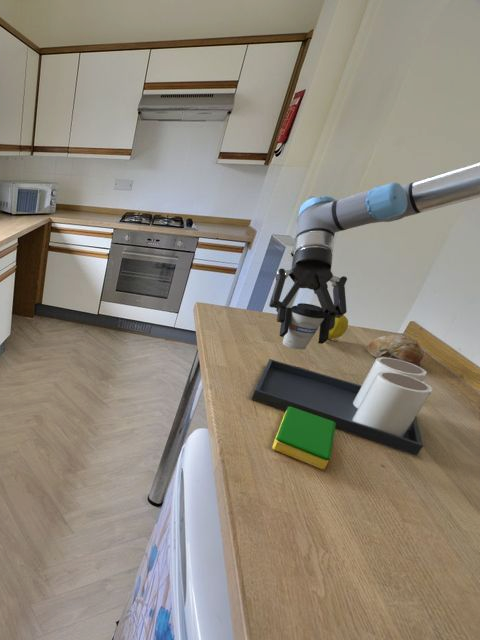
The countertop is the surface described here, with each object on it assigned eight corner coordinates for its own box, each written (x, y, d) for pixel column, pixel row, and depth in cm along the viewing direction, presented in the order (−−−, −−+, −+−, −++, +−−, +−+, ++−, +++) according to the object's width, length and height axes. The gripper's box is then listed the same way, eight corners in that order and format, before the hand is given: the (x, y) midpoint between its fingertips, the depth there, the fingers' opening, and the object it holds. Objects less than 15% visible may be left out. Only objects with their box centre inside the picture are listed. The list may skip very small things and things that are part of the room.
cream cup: (398, 409, 81) (425, 365, 77) (400, 425, 76) (429, 379, 72) (352, 396, 85) (375, 353, 81) (352, 409, 81) (376, 365, 76)
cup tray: (407, 409, 83) (412, 400, 82) (416, 456, 69) (423, 446, 68) (266, 366, 97) (269, 358, 96) (251, 399, 84) (255, 389, 83)
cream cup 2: (401, 427, 76) (430, 381, 71) (404, 445, 71) (435, 396, 67) (352, 412, 80) (376, 367, 76) (352, 427, 75) (378, 380, 71)
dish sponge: (271, 449, 69) (276, 437, 68) (284, 415, 79) (288, 405, 78) (323, 470, 65) (330, 458, 64) (330, 432, 74) (336, 421, 73)
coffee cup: (277, 337, 103) (292, 299, 99) (311, 344, 100) (328, 306, 95) (276, 346, 98) (292, 307, 94) (312, 354, 95) (330, 314, 90)
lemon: (322, 342, 112) (335, 315, 108) (310, 334, 117) (322, 308, 113) (345, 344, 111) (358, 317, 108) (332, 336, 116) (344, 310, 113)
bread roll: (358, 366, 107) (371, 346, 102) (367, 341, 112) (380, 320, 106) (411, 381, 101) (427, 359, 96) (417, 353, 106) (434, 332, 100)
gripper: (354, 268, 101) (347, 353, 94) (260, 257, 108) (248, 335, 102) (372, 251, 94) (366, 340, 88) (271, 240, 101) (259, 322, 95)
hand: (303, 337), depth 95 cm, fingers closed on coffee cup, 7 cm apart
